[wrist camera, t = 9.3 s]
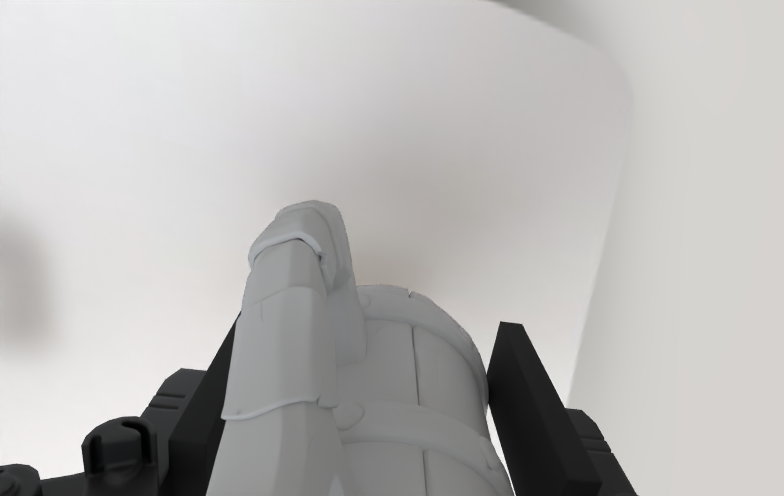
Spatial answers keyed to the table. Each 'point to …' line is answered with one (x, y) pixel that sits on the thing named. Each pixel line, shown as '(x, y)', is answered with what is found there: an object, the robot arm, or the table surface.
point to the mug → (347, 380)
